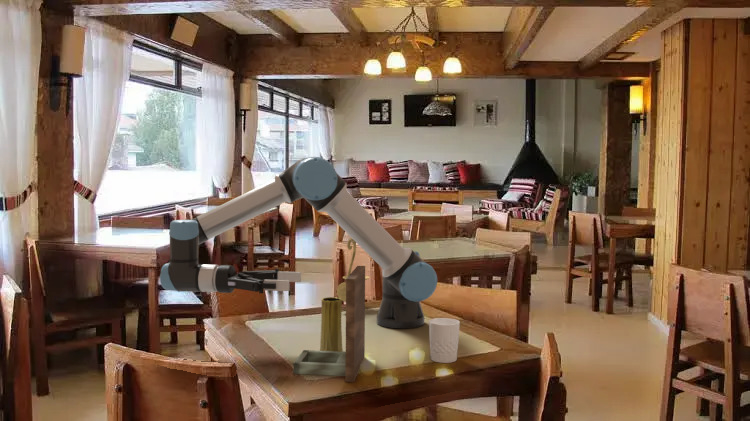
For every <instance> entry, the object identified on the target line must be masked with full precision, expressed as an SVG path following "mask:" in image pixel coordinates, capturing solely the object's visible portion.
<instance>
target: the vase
mask: <svg viewBox="0 0 750 421" xmlns="http://www.w3.org/2000/svg"><path fill="white" fill-rule="evenodd" d="M320 321H321V323H320V343H319V344H320V347H319V351H341V352H344V350H343V335H342V334H343V332H342V300H341V298H339V297H338V296H337V297H335V296H329V297H322V299H321V320H320Z"/></svg>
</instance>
